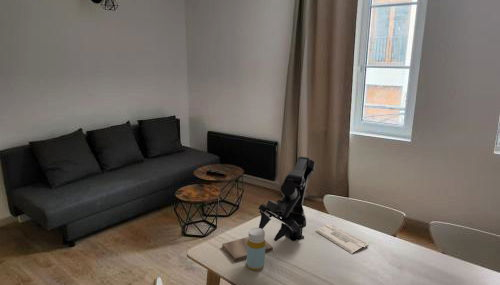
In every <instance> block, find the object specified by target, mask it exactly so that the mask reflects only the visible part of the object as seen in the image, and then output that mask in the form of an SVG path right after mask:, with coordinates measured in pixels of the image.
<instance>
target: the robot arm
mask: <svg viewBox="0 0 500 285" xmlns="http://www.w3.org/2000/svg"><path fill="white" fill-rule="evenodd" d="M315 162H316V161H314V160H313V159H311V158H310V157H308V156H298V159H296V164H295V167H294V169H293V170H291V171H289V172H288V174H287V175H286V176H285V177H284V179H283V182H282V185H281V186H280V192H281V194H282V196H283V197H282V198H281V199H278V200H277V201H274V200H269V199H268V200H267V201H266V202H267V203H266V204H264V203H262V204H260V205H259V207H258V208H257V209H258V210H259V213H260V221H259V224H258V228H261V229H263V230H264V228H265V227H266V226H267V224H268V223H269V222H270V221H271V220H272V219H271V218H272V217H273V218H274V219H276V220H278V221H280V222H281V224H280V225H281V226H280V228H279V230H278V232H277V233H276V235H275V236H274V238H273V240H274V241H275V242H277V241H278V240H280V239H282V238H283V237H285V236H286V237H287V238H288V239H290V240H291V241H292V242H295V241H299V240H301V239H305V236H304V235H303V229H304V228H305V227H306V226H307V219H306V215H305V211H304V207H303V205H304V201H305V195H306V191H307V186H308V181H309V180H310V178H311V177H312V176H313V174H314V172H315V169H316V163H315Z"/></svg>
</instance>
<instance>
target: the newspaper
mask: <svg viewBox="0 0 500 285" xmlns="http://www.w3.org/2000/svg"><path fill="white" fill-rule="evenodd" d="M315 232H316V234H318V235H319V236H322V237H324V239H327V240H328V241H330V242H331V243H333V244H335V245H336V246H338V247H340V248H341V249H343V250H344V249H345V250H344V251H345V252H348V253H349V254H351V255H353V253H355V252H356V251H359V250H360V249H361V248H362V247H364V246H365V247H367V248H368V247H369V243H367V242H366V241H364V240H362V239H359V238H358V237H356V236H354V235H352V234H350V233H348V232H346V231H344V230H342V229H340V228H339V227H337V226H335V225H334V224H332V223H327V224H326V225H323V226H321V227H319V228H316V230H315ZM362 249H363V248H362Z"/></svg>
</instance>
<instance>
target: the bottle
mask: <svg viewBox="0 0 500 285" xmlns="http://www.w3.org/2000/svg"><path fill="white" fill-rule="evenodd" d="M265 232H266V231H265V230H264V228H263V229H261V228H259V227H252V228H249V230H248V236H247V237H249V238H248V241H247V258H246V266H247V268H248V269H250V270H251V271H255V272H256V271H261V270H262V269H263V268H264V267H265V263H266V261H265V259H266V253H265V240H266V239H265V237H266V236H265V234H266V233H265ZM264 239H265V240H264Z"/></svg>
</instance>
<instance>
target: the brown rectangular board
mask: <svg viewBox="0 0 500 285" xmlns="http://www.w3.org/2000/svg"><path fill="white" fill-rule="evenodd" d="M248 238H249V236H246V237H243V238H240V239H234V240H231V241H228V242H225V243H222V244H221V245H222V246H221V247H222V249H223V250H224V251H225V252H226V253H227V255H228V256H229V257H230V258H231V259H232V260H233V261H234V262H235V263H236V262H238V261H242V260H247V241H248ZM264 240H265V254H266V253H269V252H272V251H274V247H273V246H272V245H271V244H270V243H269V242H268V241H267V240H266V239H265V238H264Z"/></svg>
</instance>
